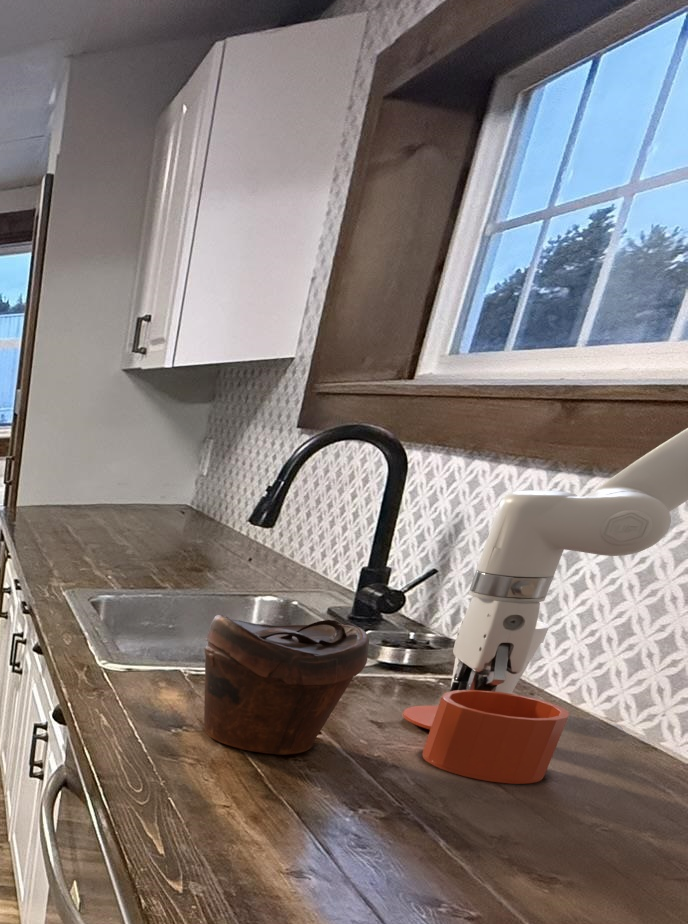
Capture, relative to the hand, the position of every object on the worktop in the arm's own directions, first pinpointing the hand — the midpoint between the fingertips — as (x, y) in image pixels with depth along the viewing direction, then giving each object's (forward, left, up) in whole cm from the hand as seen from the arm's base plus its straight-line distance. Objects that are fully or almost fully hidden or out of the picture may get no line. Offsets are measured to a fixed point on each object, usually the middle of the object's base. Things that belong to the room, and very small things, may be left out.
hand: (463, 712), depth 118 cm
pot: (+2, +15, -2) cm, 15 cm away
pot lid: (0, 0, -2) cm, 2 cm away
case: (+26, +14, -3) cm, 30 cm away
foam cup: (-6, -14, -3) cm, 16 cm away
